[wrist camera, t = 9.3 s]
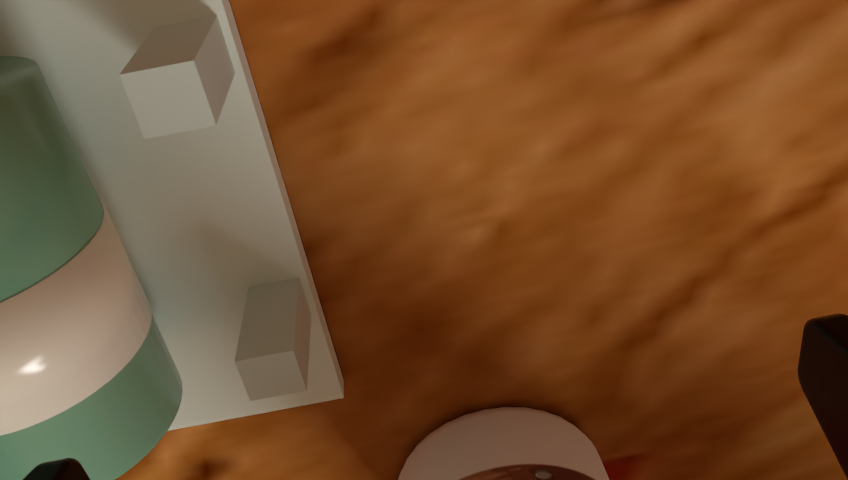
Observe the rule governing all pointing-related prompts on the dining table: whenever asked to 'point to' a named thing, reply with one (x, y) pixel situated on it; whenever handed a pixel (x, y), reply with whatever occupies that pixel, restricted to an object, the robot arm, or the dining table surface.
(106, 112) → the white four-legged tray
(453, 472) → the milk bottle
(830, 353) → the robot arm
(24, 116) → the bottle
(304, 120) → the dining table surface
